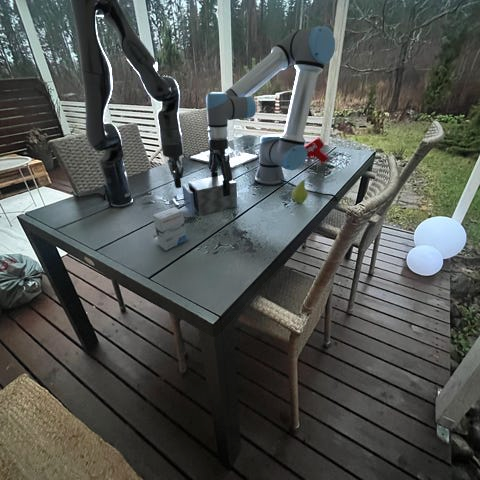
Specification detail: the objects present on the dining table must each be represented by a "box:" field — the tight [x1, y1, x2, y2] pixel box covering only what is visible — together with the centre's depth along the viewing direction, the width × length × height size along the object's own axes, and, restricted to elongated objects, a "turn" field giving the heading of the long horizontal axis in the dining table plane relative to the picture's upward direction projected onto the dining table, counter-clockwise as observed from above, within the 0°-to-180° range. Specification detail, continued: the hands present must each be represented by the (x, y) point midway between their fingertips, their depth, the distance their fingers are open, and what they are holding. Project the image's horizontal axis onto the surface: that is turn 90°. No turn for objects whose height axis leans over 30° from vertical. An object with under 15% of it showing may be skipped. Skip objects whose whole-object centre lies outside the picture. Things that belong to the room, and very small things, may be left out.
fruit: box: [291, 174, 311, 204], centre depth 118 cm, size 7×8×12 cm
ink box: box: [152, 206, 187, 251], centre depth 91 cm, size 8×5×12 cm, turn 135°
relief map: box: [190, 145, 259, 169], centre depth 178 cm, size 27×35×5 cm
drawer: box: [171, 184, 199, 215], centre depth 113 cm, size 22×10×9 cm, turn 119°
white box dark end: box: [187, 174, 238, 216], centre depth 116 cm, size 17×11×11 cm, turn 119°
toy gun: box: [304, 136, 329, 165], centre depth 169 cm, size 18×4×15 cm
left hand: (178, 187), depth 106 cm, fingers closed
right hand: (220, 191), depth 117 cm, fingers closed on white box dark end, 11 cm apart
